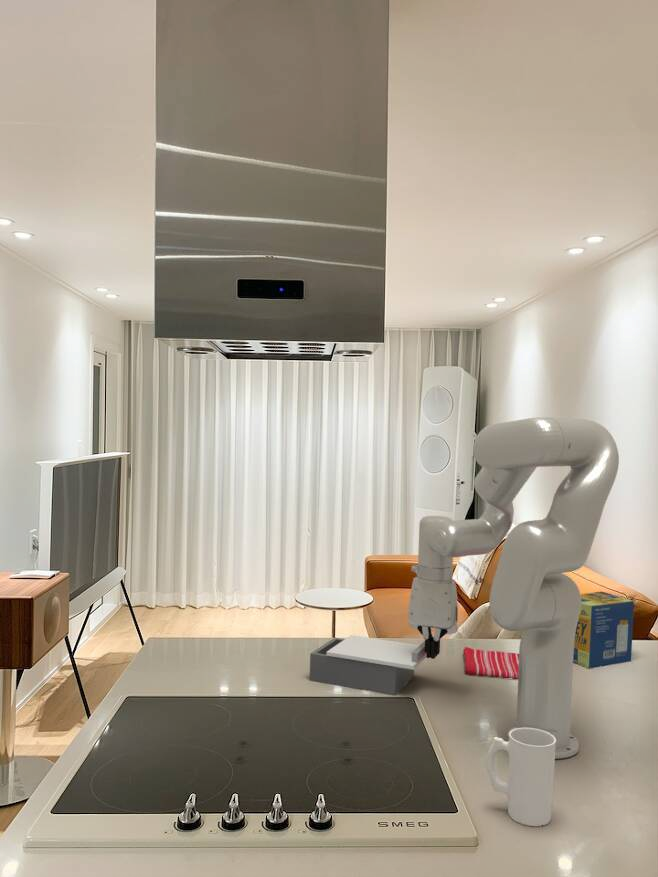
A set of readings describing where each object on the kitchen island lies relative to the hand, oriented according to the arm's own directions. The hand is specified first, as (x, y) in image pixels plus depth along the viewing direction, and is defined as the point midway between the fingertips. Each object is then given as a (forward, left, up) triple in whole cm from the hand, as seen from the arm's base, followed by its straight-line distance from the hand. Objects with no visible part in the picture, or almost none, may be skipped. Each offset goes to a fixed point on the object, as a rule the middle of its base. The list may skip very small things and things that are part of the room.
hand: (431, 656), depth 166 cm
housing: (0, +16, -7) cm, 17 cm away
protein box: (+41, -31, -8) cm, 52 cm away
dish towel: (+24, -14, -8) cm, 28 cm away
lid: (0, +12, -1) cm, 12 cm away
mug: (-45, -26, -8) cm, 53 cm away
